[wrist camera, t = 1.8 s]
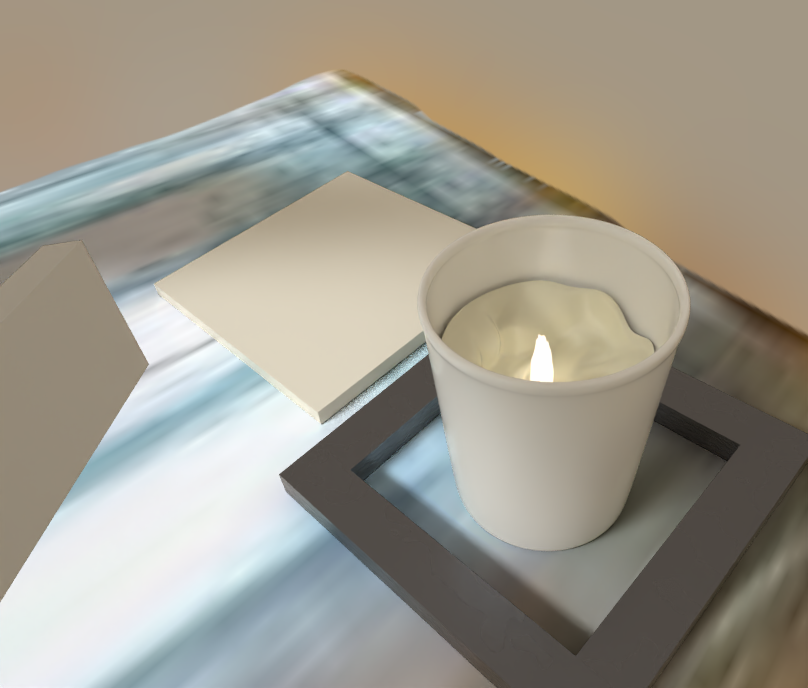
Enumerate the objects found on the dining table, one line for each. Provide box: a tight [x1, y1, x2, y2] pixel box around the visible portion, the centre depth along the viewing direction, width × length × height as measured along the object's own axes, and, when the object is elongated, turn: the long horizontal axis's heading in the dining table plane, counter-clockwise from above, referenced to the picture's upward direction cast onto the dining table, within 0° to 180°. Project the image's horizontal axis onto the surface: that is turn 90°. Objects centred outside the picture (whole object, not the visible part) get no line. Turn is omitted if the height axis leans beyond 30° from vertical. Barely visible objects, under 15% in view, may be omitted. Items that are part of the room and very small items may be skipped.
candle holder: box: [417, 215, 690, 551], centre depth 29 cm, size 10×10×12 cm
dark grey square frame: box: [279, 354, 808, 688], centre depth 33 cm, size 18×18×2 cm
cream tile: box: [154, 171, 475, 424], centre depth 46 cm, size 18×18×1 cm
